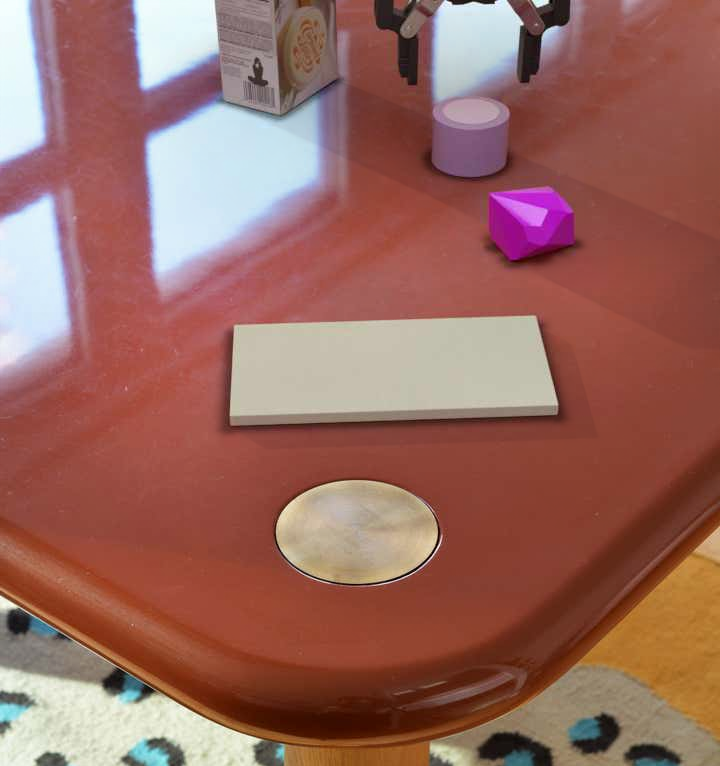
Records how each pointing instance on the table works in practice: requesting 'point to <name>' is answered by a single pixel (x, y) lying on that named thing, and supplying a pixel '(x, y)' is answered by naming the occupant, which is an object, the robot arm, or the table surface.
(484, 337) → the board
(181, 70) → the table surface
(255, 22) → the cookie box
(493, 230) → the crystal
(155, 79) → the table surface
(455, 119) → the lavender cylindrical tub
